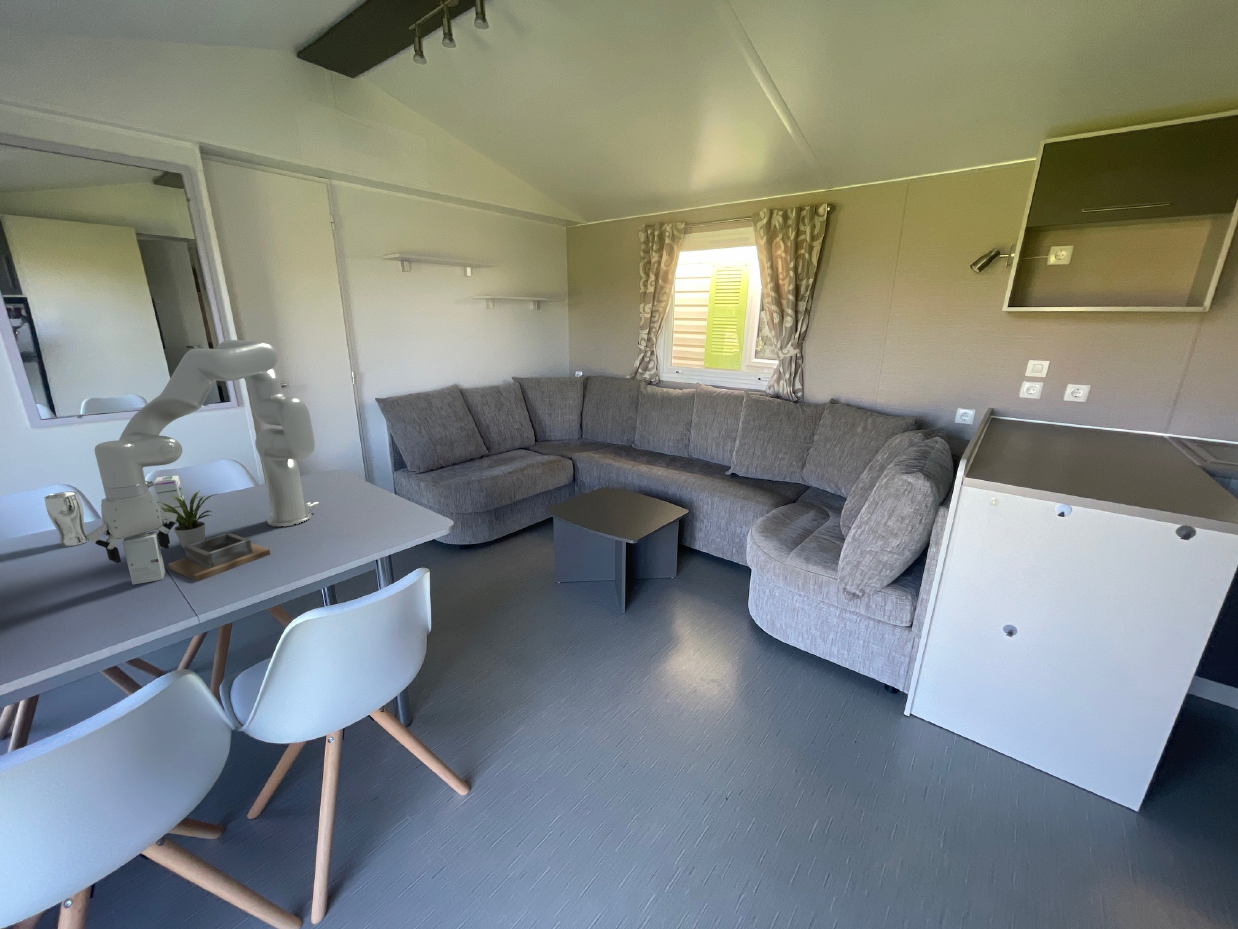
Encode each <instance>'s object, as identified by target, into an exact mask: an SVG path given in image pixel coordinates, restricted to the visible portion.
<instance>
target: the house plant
mask: <svg viewBox="0 0 1238 929" xmlns="http://www.w3.org/2000/svg"><path fill="white" fill-rule="evenodd" d="M200 491H201V490H197V491H196V492H195V493H194V494H193V495H192V497H191V499H190V500H189V508H188V505H187V503H186V500H185V498H184V499H183V498H182V497H181V496H180V497H181V498H182V500H183V501H182V500H181V499H180V498H177V497H175V496H172V498H174V499H176V500H177V501H178V502H179V504H180V506H181V508H182V510H183V513H184V516H185V517H184V516H183V515H181V514H180V513H179V512H178V511H177V510H176V509H175V508H173V507H172V506H170V505H167V504H164V503H161V502H158V501H156V503H157V504H158V503H160V504H163V505H165V506H167V507H168V508H170V509H171V510H170V509H166V508H165V507H161V508H162V509H163V510H164V512H170V513H175V514H177V518H176V521H177V522H174V523H175V524H174V525H176V526H175V527H174V528H173V530H174V533H175V535H176V536H177V538H178V541H179V543H180V545H181V547H182V548H183V550H185V547H184V546H187V545H190V544H193V543H197V542H200V541H203V540H206V522H204V521H200V520H201V519H203V518H206V517H209V516H212V517H213V515H212V514H208V513H210V512H211V513H213V511H212V510H205V511H203V512H201V514H199V516H198V517H197V515H198V512H199V510H200V509H201V508H202V505H203V504H205V502H206V501H207V500H209V498H211V497H213V496H217V495H218V493H215V494H212V495H209V496H207V497H206V496H205V495H203V496H200V497H199V496H198V495H199V493H200ZM205 497H206V498H205ZM198 498H199V500H198V501H197V503H196V505H195V507H194V504H195V501H196V499H198ZM204 498H205V499H204ZM184 500H185V501H184ZM163 518H164V517H163ZM164 520H168V519H164Z"/></svg>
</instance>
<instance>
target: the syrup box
mask: <svg viewBox="0 0 1238 929" xmlns="http://www.w3.org/2000/svg"><path fill="white" fill-rule="evenodd" d="M152 482H153V484H154V486H153V487H154V490H155V491H154V492H155V496H156V501H157V502H161V503H164V504H167V505H170V506H172V507H173V508H175V509H176V510H177V511H178V512H179V513H180V514H181V515H183V516H184V513H183V510H182V508H181V506H180V504H179V502H178V501H177V500H176V499H174V498H172V496H175V497H177V498H180V499H181V500H182V498H183V499H184V501H185V502H186V500H185V496H184V492H183V489H182V484H181V482H180V477H179V475H178V474H177V475H165V476H158V477H156V478H155V479H154V481H152ZM180 496H181V497H182V498H181V497H180ZM182 501H183V500H182ZM157 505H158V508H159V510H160V511H163V512H164V510H163V509H162V508H161V507H165V508H166V509H170V508H168V507H167V506H165V505H163V504H160V503H157ZM170 510H171V509H170ZM184 517H185V516H184ZM164 519H168V517H164V518H163V517H162V521H163V524H165V523H166V522H167V521H168V520H164ZM174 523H178V522H177V521H175V522H174Z"/></svg>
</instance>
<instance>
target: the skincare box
mask: <svg viewBox="0 0 1238 929" xmlns="http://www.w3.org/2000/svg"><path fill="white" fill-rule="evenodd" d="M157 533H158V532H157V531H150V532H146V533H142V534H138V535H135V536H131V537H127V538H123V540H122V546H123V549H124V554H125V559H126V563H127V567H128V571H129V575H130V580H131V584H132V585H139V584H144V583H149V582H155V581H161V580H163V579H164V576H165V575H166V569H165V564H164V559H163V555H162V550H161V547H160V544H159V540H158V535H157Z"/></svg>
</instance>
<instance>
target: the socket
mask: <svg viewBox="0 0 1238 929" xmlns="http://www.w3.org/2000/svg"><path fill="white" fill-rule="evenodd" d="M184 547H185V549H184V552H185V556H186V557H184V558H182V559H178V560H175V561H173V562H169V563H168V567H169V569H170V570H172V571H174V572H176V573H178V574H180V575H183V576H184V577H186V578H189V579H192V580H194V581H196V582H200V581H202V580H205V579H208V578H210V577H213V576H216V575H219V574H222V573H224V572H226V571H229V570H232V569H234V568H238V567H240V566H242V565H243V566H244V565H246V564H248V563H251V562H253V561H255V560H256V561H257V560H258V559H261V558H263V557H266V556H269V555H271V550H270V548H267V547H264V546H261V545H259V544H256V543H253V542H252V541H251V539H248V538H245V537H243V536H240V535H238V534H235V533H231V532H224V533H222V534H218V535H216V536H213V537H209V538H205V540H203V541H200V542H197V543H193V544H190V545H187V546H184ZM268 554H269V555H268Z"/></svg>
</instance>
